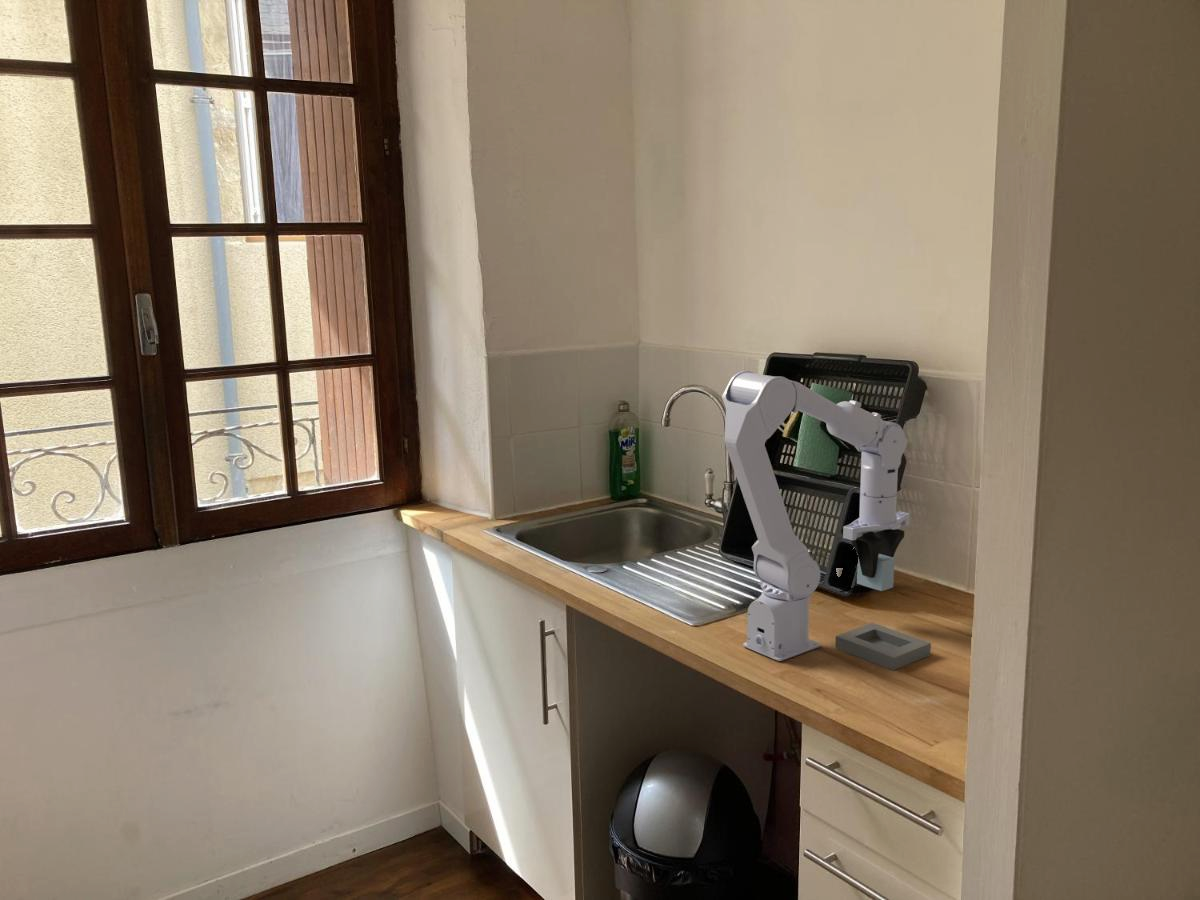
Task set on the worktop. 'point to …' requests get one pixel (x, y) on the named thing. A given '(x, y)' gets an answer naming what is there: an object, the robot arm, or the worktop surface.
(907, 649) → the grey slotted base
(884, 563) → the block
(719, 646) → the worktop surface
